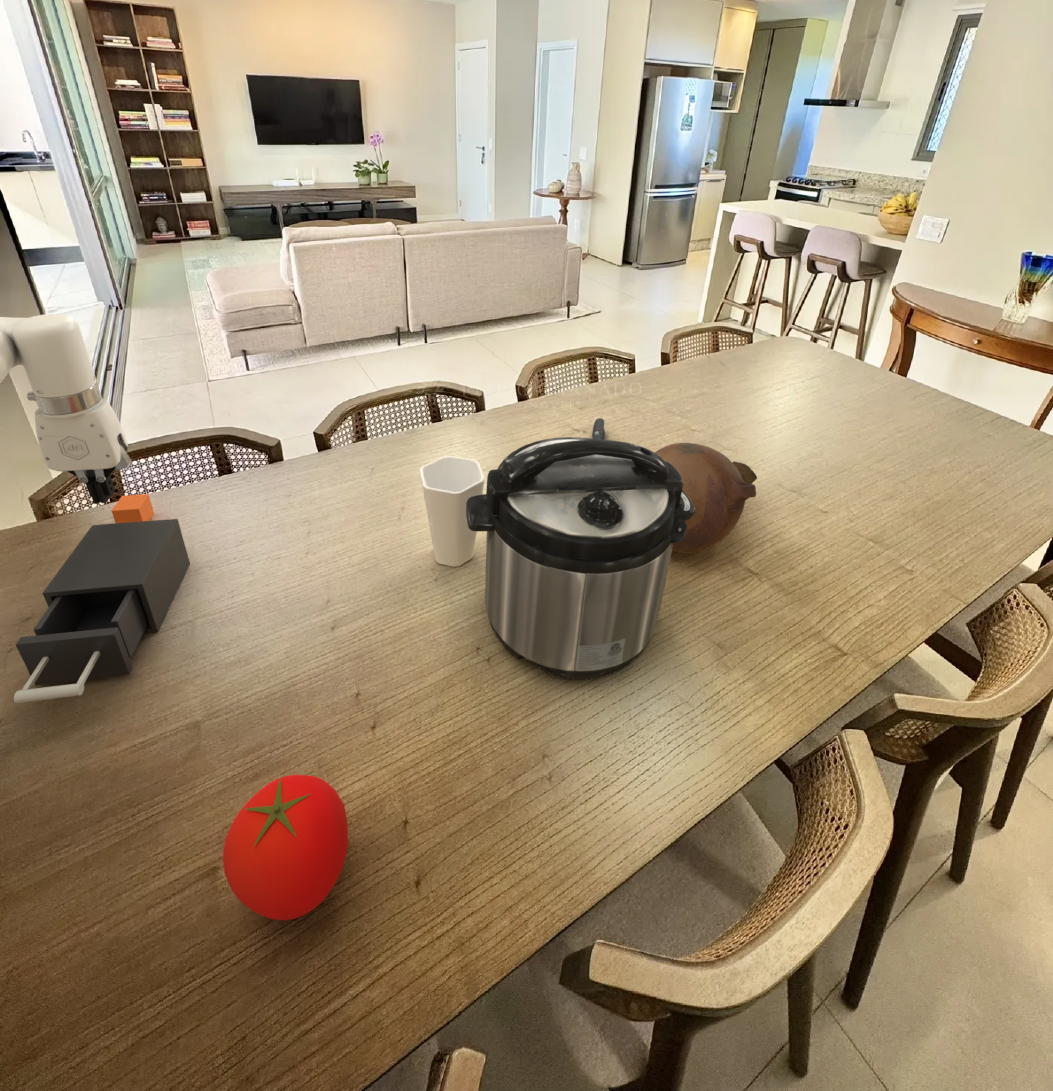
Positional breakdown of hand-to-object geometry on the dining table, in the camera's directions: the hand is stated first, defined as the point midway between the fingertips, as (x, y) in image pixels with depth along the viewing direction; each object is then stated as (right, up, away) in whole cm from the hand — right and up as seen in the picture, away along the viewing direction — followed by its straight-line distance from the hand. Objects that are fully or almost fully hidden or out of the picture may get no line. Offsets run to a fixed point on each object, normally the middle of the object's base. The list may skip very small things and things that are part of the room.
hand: (104, 498), depth 96 cm
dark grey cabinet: (+6, -16, -2) cm, 17 cm away
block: (-4, -7, +14) cm, 16 cm away
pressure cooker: (+75, -18, -1) cm, 77 cm away
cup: (+55, -12, +10) cm, 58 cm away
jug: (+102, -9, +20) cm, 104 cm away
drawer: (+8, -20, -13) cm, 25 cm away
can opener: (+85, +4, +44) cm, 96 cm away
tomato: (+45, -33, -34) cm, 66 cm away
